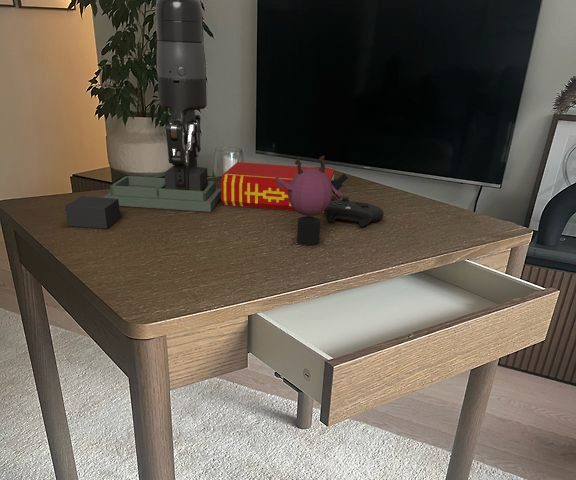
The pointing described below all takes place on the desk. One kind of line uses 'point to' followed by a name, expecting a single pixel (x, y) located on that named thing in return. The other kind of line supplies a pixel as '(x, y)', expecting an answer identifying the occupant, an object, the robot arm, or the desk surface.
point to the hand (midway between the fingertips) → (186, 184)
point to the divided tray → (162, 195)
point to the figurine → (311, 198)
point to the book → (260, 185)
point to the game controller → (353, 211)
